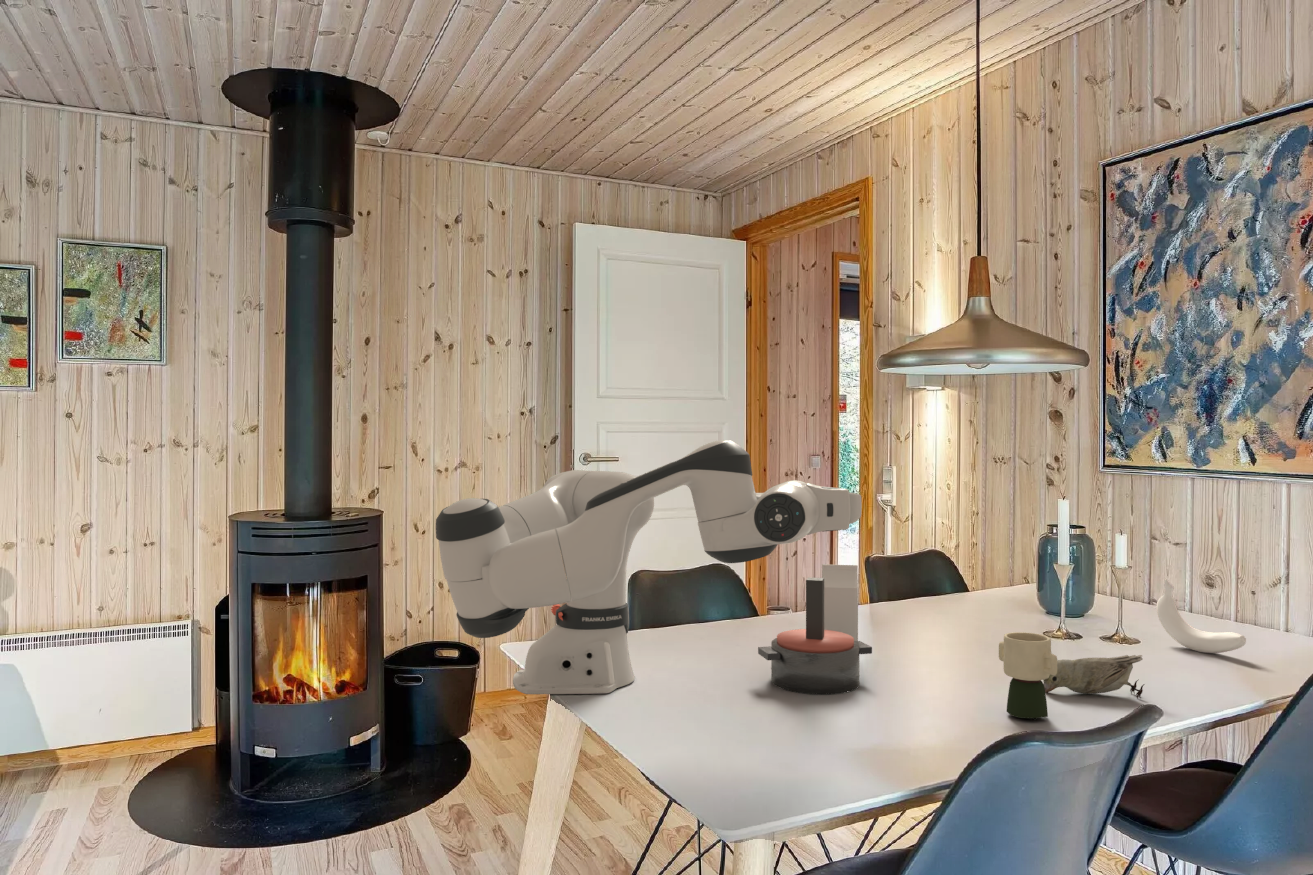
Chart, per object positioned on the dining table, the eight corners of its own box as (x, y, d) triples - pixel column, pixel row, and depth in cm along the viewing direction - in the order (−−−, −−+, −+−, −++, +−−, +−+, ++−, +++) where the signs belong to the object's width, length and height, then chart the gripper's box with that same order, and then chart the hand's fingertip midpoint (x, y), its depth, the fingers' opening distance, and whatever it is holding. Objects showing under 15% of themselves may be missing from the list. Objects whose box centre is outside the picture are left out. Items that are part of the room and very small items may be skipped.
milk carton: (858, 663, 177) (858, 568, 176) (821, 661, 178) (821, 567, 178) (857, 654, 184) (857, 562, 183) (822, 652, 185) (822, 561, 185)
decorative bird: (1039, 689, 159) (1040, 647, 159) (1136, 693, 156) (1136, 651, 156) (1048, 698, 154) (1048, 655, 154) (1147, 702, 151) (1148, 659, 151)
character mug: (1071, 723, 140) (1071, 641, 140) (1041, 730, 136) (1041, 646, 136) (1014, 704, 149) (1014, 627, 149) (984, 711, 146) (984, 632, 146)
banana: (1242, 664, 175) (1242, 590, 175) (1149, 643, 192) (1150, 576, 192) (1256, 661, 177) (1256, 588, 177) (1163, 641, 194) (1163, 574, 194)
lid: (850, 656, 155) (850, 587, 154) (771, 650, 159) (771, 583, 158) (856, 637, 168) (856, 574, 168) (783, 633, 172) (783, 571, 172)
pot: (779, 698, 153) (779, 658, 153) (748, 673, 169) (748, 637, 169) (886, 690, 158) (886, 650, 158) (846, 667, 174) (846, 631, 173)
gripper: (729, 526, 144) (745, 518, 157) (858, 530, 138) (863, 521, 151) (729, 487, 144) (745, 483, 157) (858, 489, 138) (863, 484, 151)
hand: (804, 502), depth 154 cm, fingers open, 8 cm apart
